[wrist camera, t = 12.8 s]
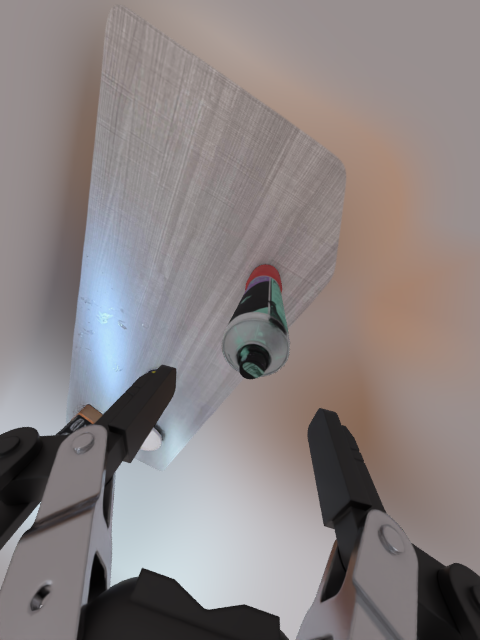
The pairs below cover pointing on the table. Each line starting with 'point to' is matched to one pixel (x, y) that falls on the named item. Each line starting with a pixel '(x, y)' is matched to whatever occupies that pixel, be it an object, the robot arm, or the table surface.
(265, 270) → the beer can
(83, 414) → the whiskey bottle
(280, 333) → the spray can
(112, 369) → the table surface
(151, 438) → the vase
